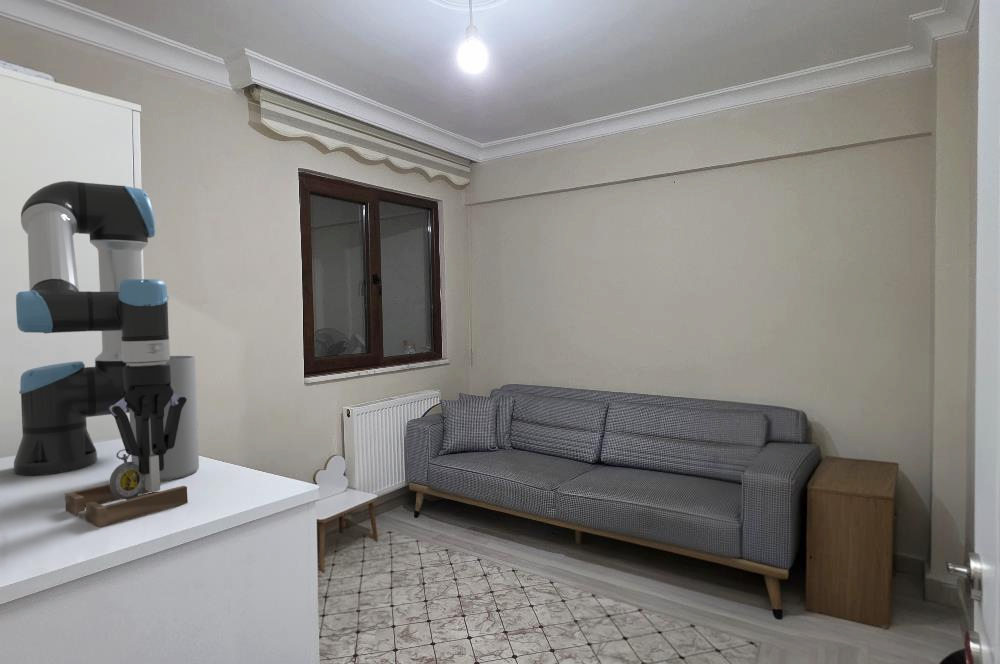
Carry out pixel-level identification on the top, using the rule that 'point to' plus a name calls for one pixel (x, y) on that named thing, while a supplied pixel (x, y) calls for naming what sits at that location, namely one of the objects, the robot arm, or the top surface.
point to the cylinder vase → (185, 450)
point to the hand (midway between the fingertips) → (152, 489)
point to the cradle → (120, 504)
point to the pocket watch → (127, 480)
